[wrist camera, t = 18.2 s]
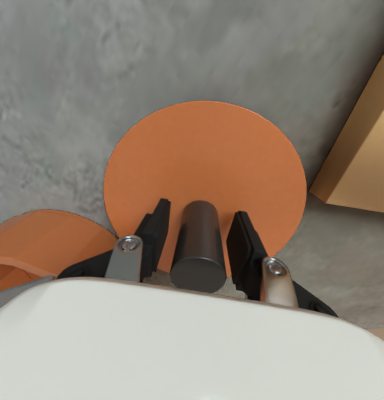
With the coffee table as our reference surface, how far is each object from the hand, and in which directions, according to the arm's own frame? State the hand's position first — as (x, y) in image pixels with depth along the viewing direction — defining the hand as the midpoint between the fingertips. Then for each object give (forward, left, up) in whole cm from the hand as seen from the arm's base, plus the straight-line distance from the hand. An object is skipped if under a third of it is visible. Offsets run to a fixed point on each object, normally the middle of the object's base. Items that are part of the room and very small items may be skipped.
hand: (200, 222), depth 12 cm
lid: (0, 0, -2) cm, 2 cm away
